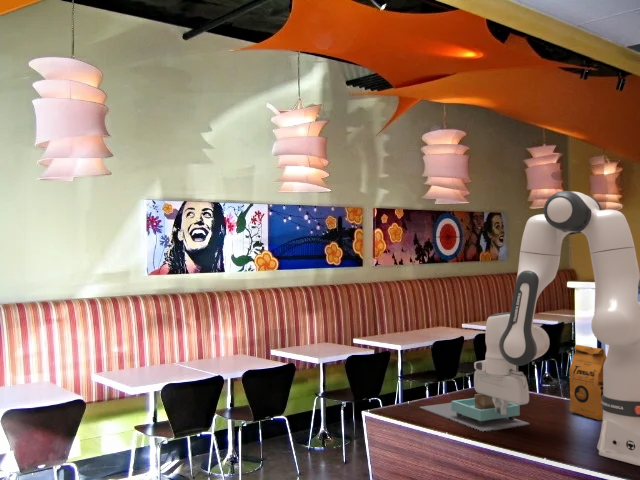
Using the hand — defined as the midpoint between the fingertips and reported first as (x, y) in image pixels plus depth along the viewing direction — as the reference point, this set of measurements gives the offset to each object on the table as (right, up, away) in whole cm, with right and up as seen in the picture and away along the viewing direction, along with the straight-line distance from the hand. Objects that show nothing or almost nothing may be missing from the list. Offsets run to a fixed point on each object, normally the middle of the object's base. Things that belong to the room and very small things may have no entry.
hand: (500, 413), depth 197 cm
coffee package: (+32, -5, +13) cm, 35 cm away
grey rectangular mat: (-6, -4, +14) cm, 15 cm away
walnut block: (-3, -1, +8) cm, 9 cm away
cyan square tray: (-3, -4, +8) cm, 9 cm away
